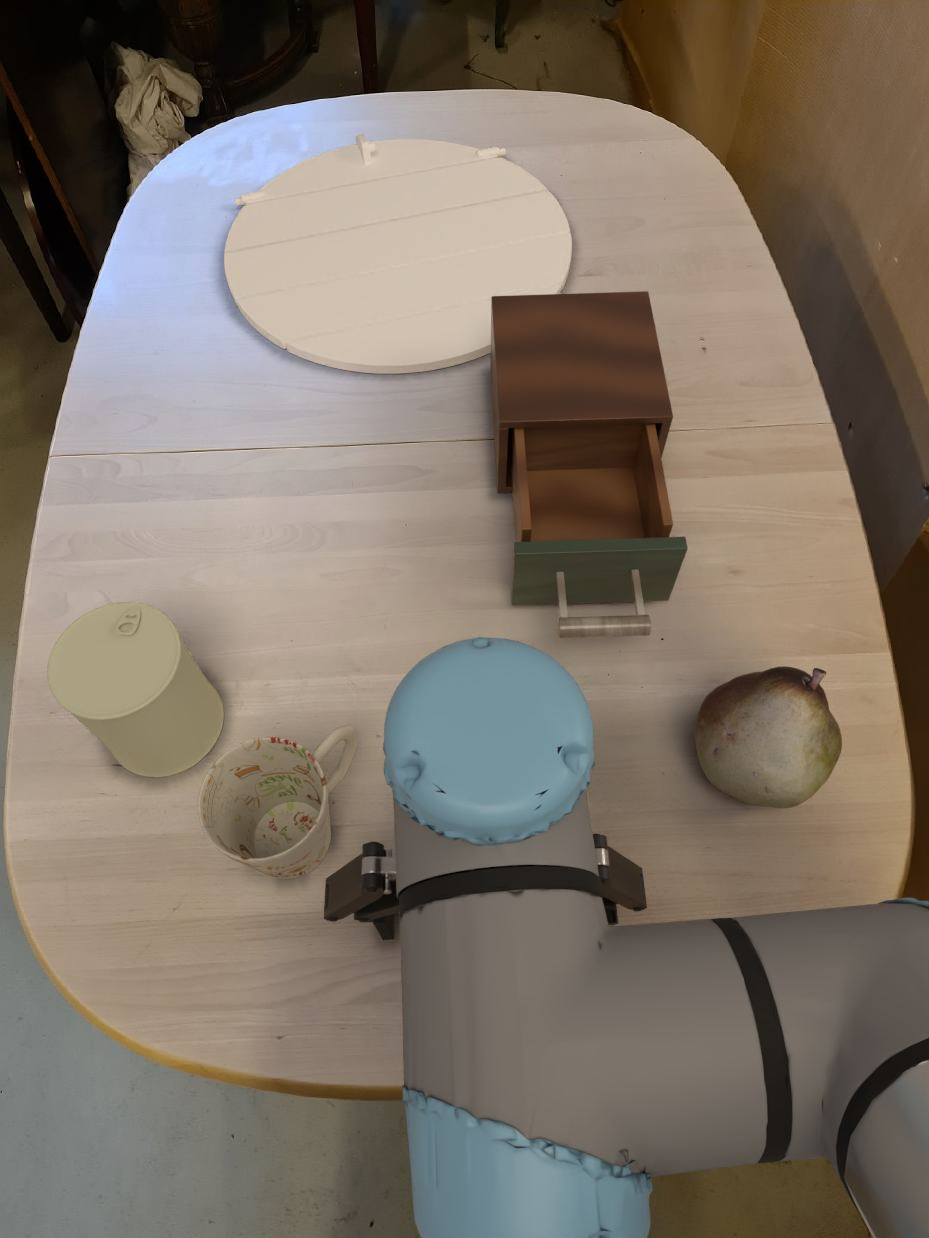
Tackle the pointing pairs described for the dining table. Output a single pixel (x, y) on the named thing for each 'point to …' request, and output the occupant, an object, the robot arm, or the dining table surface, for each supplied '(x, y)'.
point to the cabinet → (574, 366)
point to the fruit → (768, 737)
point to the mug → (273, 803)
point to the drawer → (592, 524)
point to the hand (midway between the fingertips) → (484, 916)
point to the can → (136, 688)
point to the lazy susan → (393, 253)
